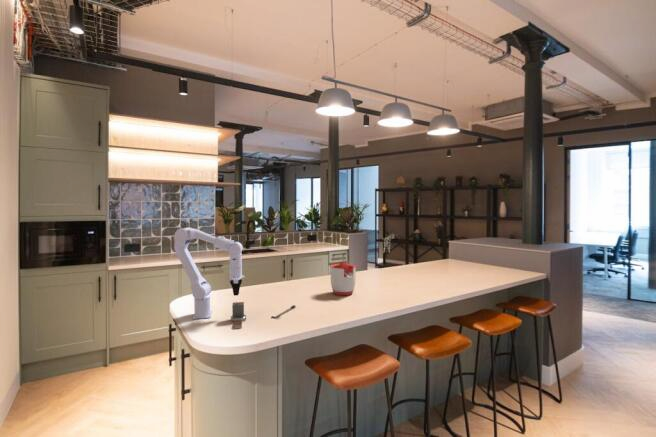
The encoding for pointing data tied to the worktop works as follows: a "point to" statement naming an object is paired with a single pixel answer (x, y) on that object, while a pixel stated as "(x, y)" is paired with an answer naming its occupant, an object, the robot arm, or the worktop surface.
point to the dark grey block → (238, 309)
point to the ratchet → (238, 321)
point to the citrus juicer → (343, 278)
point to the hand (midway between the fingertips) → (236, 295)
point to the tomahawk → (283, 312)
